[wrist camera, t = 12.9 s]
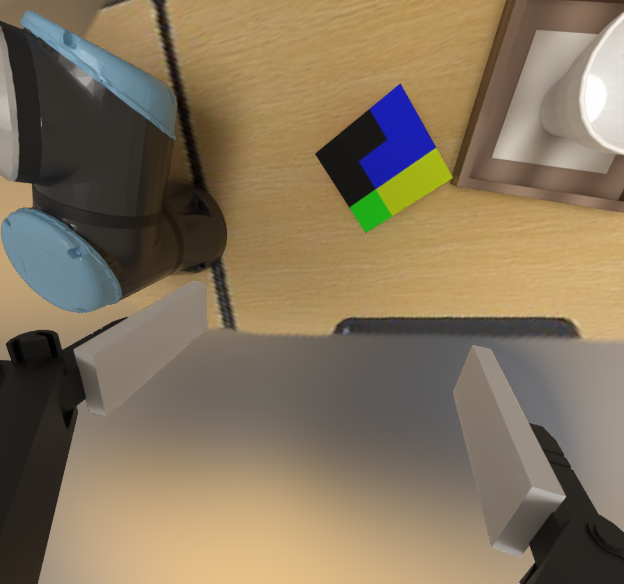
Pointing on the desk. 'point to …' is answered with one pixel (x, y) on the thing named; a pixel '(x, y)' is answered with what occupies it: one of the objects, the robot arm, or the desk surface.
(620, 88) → the cup
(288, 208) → the desk surface
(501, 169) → the walled box
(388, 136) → the puzzle toy
